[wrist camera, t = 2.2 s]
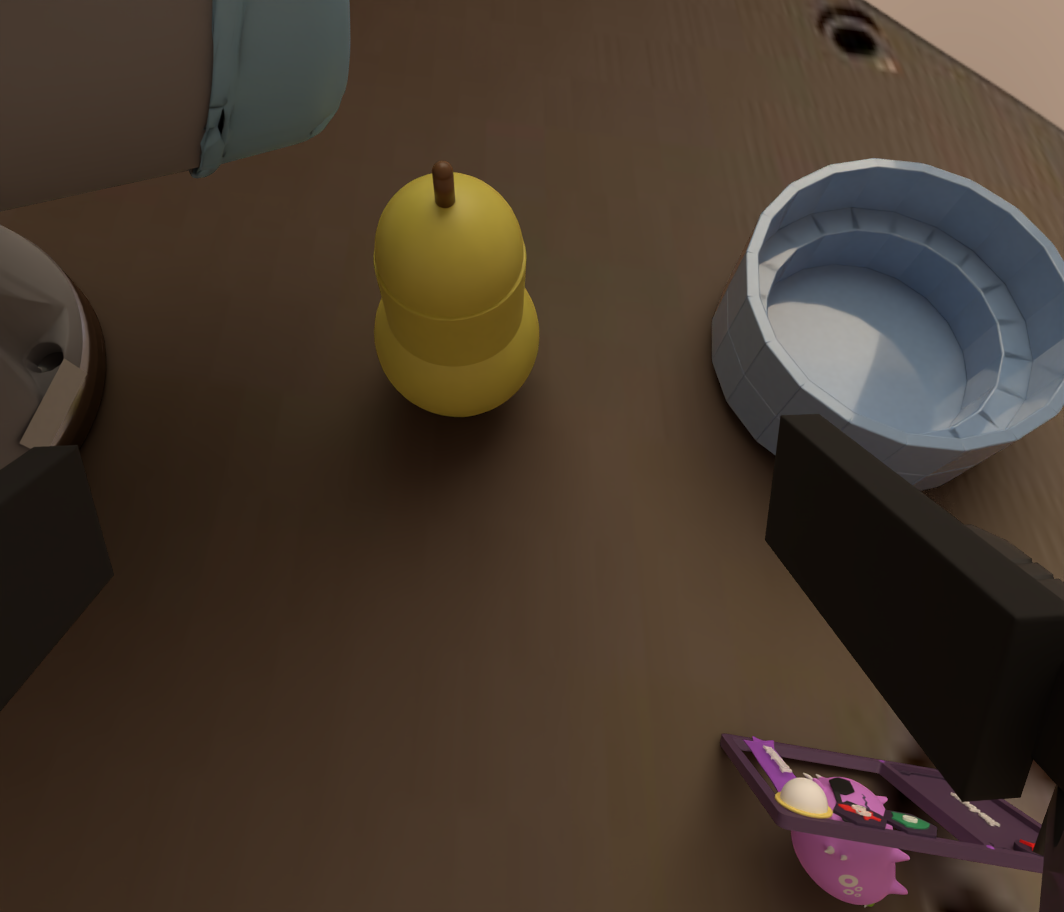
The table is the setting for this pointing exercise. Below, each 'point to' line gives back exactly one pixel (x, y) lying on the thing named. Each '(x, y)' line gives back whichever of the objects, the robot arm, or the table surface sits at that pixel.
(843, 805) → the game card
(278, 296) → the table surface
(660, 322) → the table surface
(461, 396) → the pear
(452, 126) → the table surface
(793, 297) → the bowl
